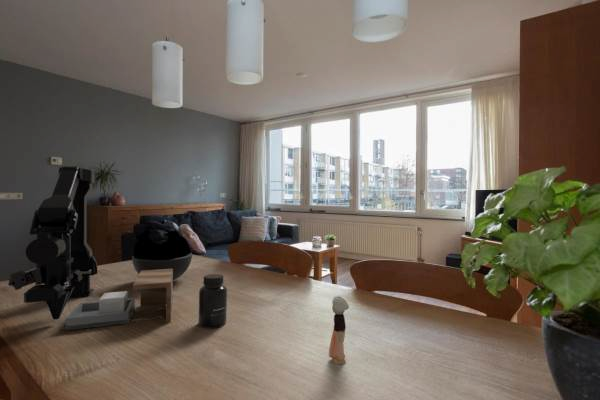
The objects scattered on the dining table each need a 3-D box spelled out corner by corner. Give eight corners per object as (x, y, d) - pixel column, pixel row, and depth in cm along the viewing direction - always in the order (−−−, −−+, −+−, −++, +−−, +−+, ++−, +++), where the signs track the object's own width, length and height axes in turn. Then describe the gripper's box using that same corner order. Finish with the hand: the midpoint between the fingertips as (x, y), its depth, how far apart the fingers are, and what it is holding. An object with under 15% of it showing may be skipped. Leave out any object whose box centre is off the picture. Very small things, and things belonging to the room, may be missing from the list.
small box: (104, 310, 84) (104, 292, 84) (128, 308, 86) (128, 290, 86) (98, 318, 79) (98, 299, 79) (124, 316, 81) (124, 297, 81)
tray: (80, 313, 85) (80, 303, 85) (134, 308, 89) (134, 298, 89) (65, 330, 74) (65, 318, 74) (128, 323, 79) (128, 312, 79)
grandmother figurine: (325, 350, 67) (326, 290, 66) (343, 350, 67) (344, 290, 67) (332, 371, 59) (333, 303, 59) (352, 370, 59) (353, 303, 59)
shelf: (140, 305, 91) (140, 270, 91) (172, 302, 94) (172, 268, 94) (132, 326, 77) (133, 285, 77) (170, 322, 80) (170, 282, 80)
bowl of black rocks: (203, 281, 118) (203, 230, 117) (151, 294, 102) (151, 236, 101) (172, 272, 130) (172, 226, 129) (121, 283, 113) (121, 231, 113)
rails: (73, 317, 83) (73, 316, 83) (168, 307, 91) (168, 306, 91) (62, 329, 75) (62, 328, 75) (167, 317, 83) (167, 316, 83)
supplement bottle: (219, 330, 76) (219, 280, 76) (193, 327, 77) (193, 278, 77) (231, 319, 83) (231, 273, 82) (206, 317, 84) (207, 271, 84)
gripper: (33, 250, 84) (33, 309, 84) (-8, 266, 66) (-7, 340, 67) (82, 248, 88) (82, 304, 88) (56, 263, 70) (57, 333, 71)
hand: (56, 318), depth 78 cm, fingers closed
